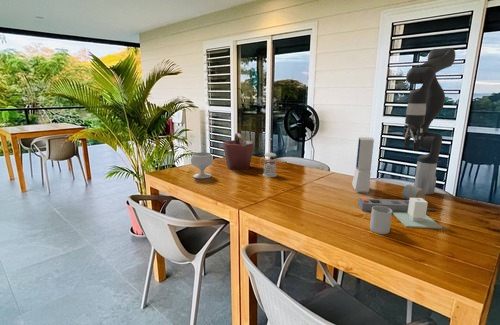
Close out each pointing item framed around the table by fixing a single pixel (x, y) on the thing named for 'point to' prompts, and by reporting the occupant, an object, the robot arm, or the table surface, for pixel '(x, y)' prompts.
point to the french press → (267, 170)
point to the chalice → (201, 163)
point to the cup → (380, 219)
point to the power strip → (385, 204)
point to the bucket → (238, 153)
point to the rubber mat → (408, 222)
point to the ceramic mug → (412, 192)
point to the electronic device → (363, 165)
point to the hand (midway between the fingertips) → (411, 148)
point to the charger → (417, 209)
